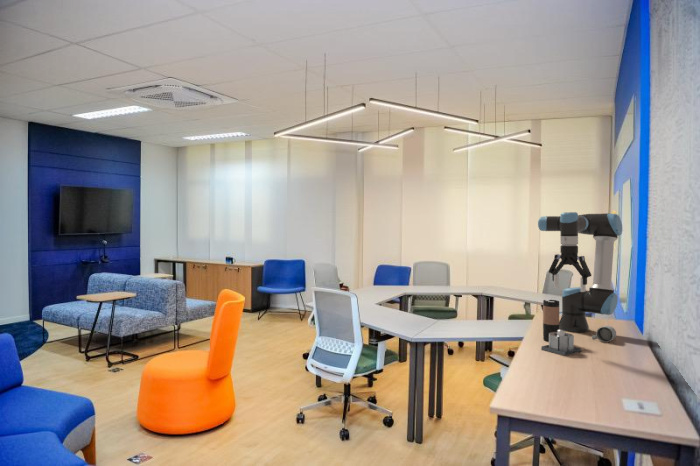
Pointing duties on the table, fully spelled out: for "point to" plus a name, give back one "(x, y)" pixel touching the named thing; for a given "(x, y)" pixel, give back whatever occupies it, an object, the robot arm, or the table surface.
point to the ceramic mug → (605, 334)
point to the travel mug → (550, 318)
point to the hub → (561, 341)
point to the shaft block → (561, 352)
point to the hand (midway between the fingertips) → (569, 289)
